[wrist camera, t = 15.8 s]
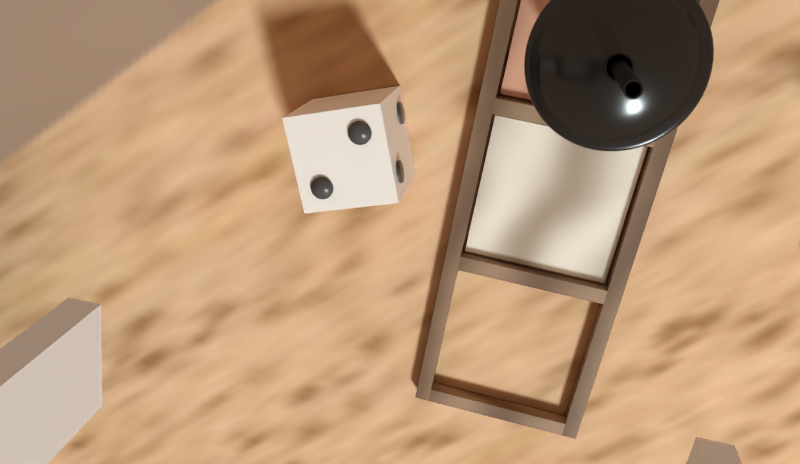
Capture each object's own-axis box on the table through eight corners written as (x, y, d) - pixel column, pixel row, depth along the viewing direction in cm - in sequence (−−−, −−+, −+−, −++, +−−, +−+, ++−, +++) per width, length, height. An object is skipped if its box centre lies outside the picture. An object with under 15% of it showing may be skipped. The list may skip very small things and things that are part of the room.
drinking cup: (581, -64, 41) (609, -80, 22) (692, 9, 41) (809, 52, 23) (505, 52, 44) (476, 121, 25) (609, 119, 44) (654, 236, 26)
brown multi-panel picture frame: (417, 389, 54) (415, 397, 53) (521, -97, 41) (520, -98, 40) (574, 430, 53) (575, 438, 52) (734, -59, 40) (738, -60, 39)
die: (331, 184, 49) (303, 214, 44) (312, 98, 48) (281, 118, 42) (417, 174, 48) (400, 203, 42) (402, 85, 46) (381, 103, 40)
